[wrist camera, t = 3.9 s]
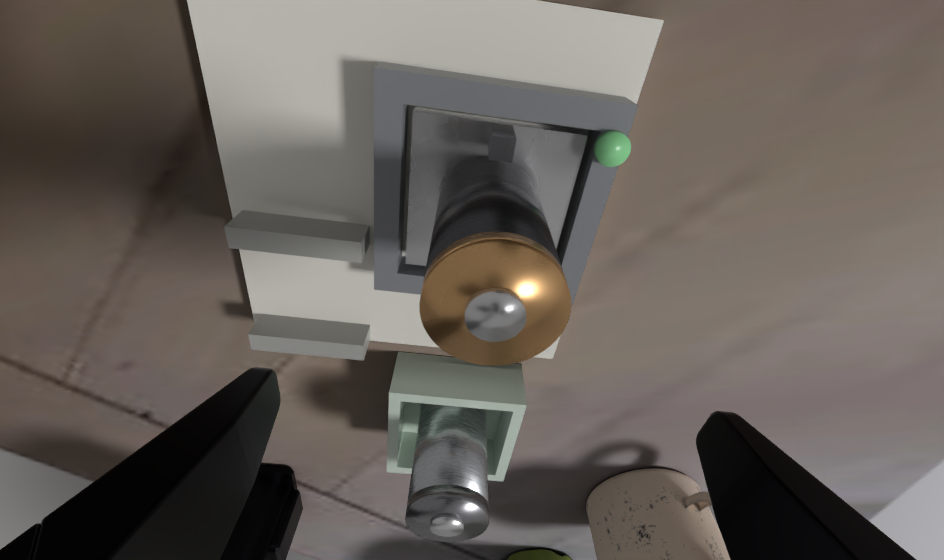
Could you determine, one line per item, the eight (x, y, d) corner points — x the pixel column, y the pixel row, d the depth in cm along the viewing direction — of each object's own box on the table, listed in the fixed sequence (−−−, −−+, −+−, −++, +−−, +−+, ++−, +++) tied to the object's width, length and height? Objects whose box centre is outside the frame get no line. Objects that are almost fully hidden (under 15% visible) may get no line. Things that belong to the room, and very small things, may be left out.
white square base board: (262, 319, 23) (238, 354, 20) (189, -55, 14) (133, -66, 11) (550, 348, 24) (558, 385, 21) (655, 19, 15) (687, 22, 12)
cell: (434, 242, 18) (413, 365, 12) (443, 149, 15) (423, 241, 9) (526, 254, 18) (552, 379, 12) (548, 163, 16) (593, 262, 10)
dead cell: (419, 423, 27) (402, 545, 21) (423, 380, 24) (406, 502, 18) (481, 428, 27) (482, 550, 21) (490, 386, 25) (495, 509, 19)
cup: (394, 430, 28) (386, 472, 25) (398, 351, 24) (389, 392, 21) (500, 439, 28) (503, 481, 26) (521, 364, 24) (526, 405, 22)
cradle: (408, 254, 19) (399, 287, 17) (415, 106, 15) (405, 123, 13) (545, 270, 19) (553, 304, 17) (583, 130, 16) (600, 150, 14)
